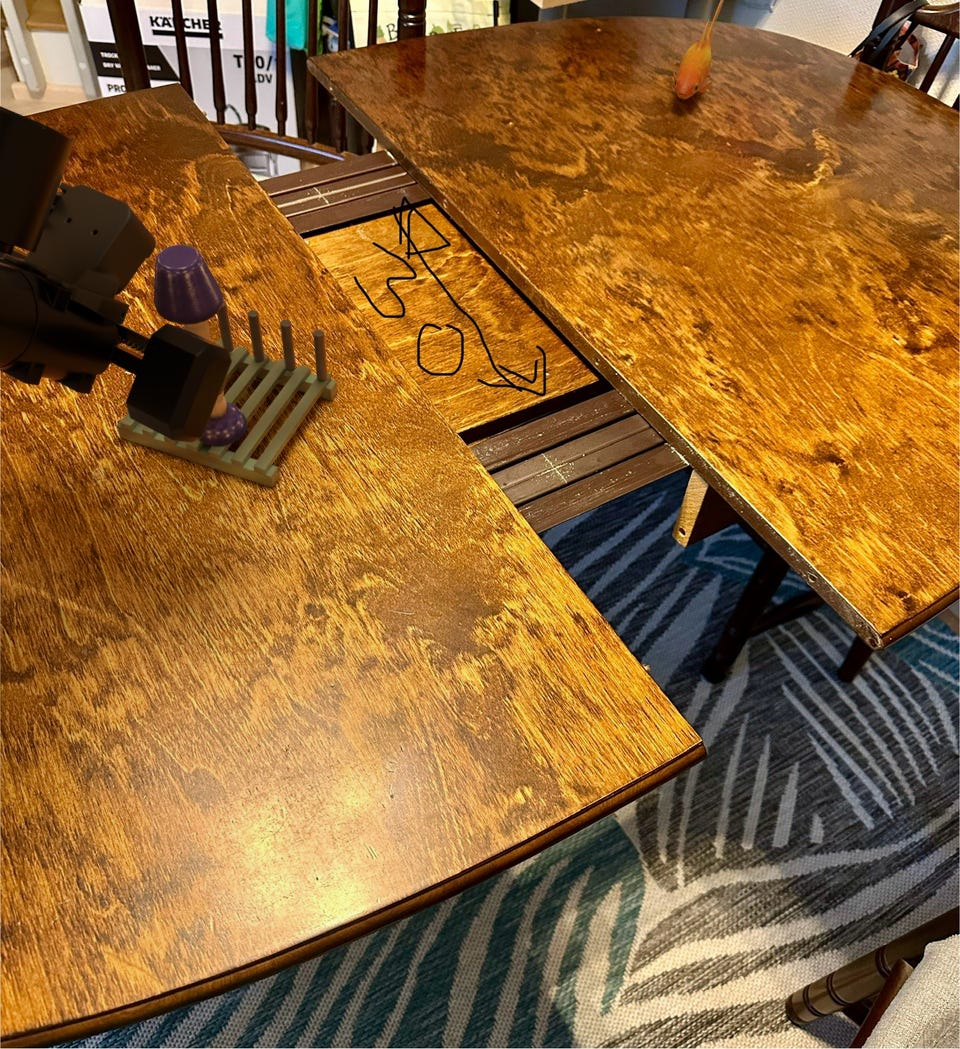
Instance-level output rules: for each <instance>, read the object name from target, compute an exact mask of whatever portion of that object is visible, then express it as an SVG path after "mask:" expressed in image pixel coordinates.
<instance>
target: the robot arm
mask: <svg viewBox="0 0 960 1049" xmlns="http://www.w3.org/2000/svg"><path fill="white" fill-rule="evenodd" d="M74 145H75V141H74V139H72V138H70V137H68V136H67V135H65V134H63V133H62V132H60V131H58V130H56V129H54V128H52V127H50V126H48V125H47V124H44V123H42V122H39V121H37V120H35V119H32V118H30V117H28V116H25V115H23V114H20V113H18V112H15V111H13V110H10V109H8V108H6V107H4V106H1V105H0V372H2V373H4V374H6V375H8V376H9V377H12V378H13V379H15V380H18V381H19V382H21V383H23V384H26V385H31V386H37V387H39V385H40V383H41V380H42V378H43V379H49V380H52V381H55V382H56V383H59V384H61V385H63V386H64V387H66V388H68V389H71V390H72V391H74V392H76V393H79V394H83V395H84V394H85V395H91V392H92V389H93V387H94V383H95V381H96V379H97V376H101V375H103V374H104V373H105V372H106V370H108V368H109V367H110V366H111V364H113V365H114V366H117V367H119V368H121V369H122V370H125V371H127V372H129V373H131V374H133V375H134V376H135V377H134V379H133V382H132V385H131V388H130V390H129V393H128V395H127V397H126V401H125V406H126V409H127V413H128V412H129V416H130V418H131V419H133V420H135V421H136V422H138V423H140V424H142V425H144V426H146V427H148V428H150V429H152V430H154V431H156V432H158V433H160V434H162V435H164V436H165V437H167V438H169V439H171V440H173V441H182V442H190V443H192V442H194V441H196V440H199V439H201V438H202V437H203V434H204V431H205V429H206V426H207V424H208V421H209V419H210V416H211V414H212V411H213V409H214V406H215V404H216V401H217V398H218V396H219V395H220V394H222V392H223V390H224V391H225V388H226V385H227V383H228V381H227V379H226V376H227V373H228V371H229V368H230V365H231V363H232V360H231V357H230V354H229V351H228V349H226V348H224V347H222V346H220V345H218V344H216V342H214V341H213V340H212V341H213V342H212V341H209V340H207V339H205V338H203V337H201V336H199V335H197V334H195V333H192V332H190V331H187V330H185V329H184V328H182V327H180V326H177V325H174V324H171V323H167V322H166V323H165V324H163V325H162V326H161V327H160V328H158V329H157V330H155V331H154V332H153V333H151V334H150V336H149V337H148V336H147V335H145V334H142V333H140V332H138V331H136V330H134V329H132V328H130V327H128V326H125V325H123V324H124V322H125V319H126V317H127V315H128V312H129V309H130V306H131V304H129V303H126V302H125V301H122V300H120V299H118V298H115V297H116V296H117V295H119V294H121V293H123V292H124V290H125V289H126V288H127V287H128V285H129V284H130V282H131V281H132V279H133V278H134V276H135V275H136V273H137V272H138V270H140V268H141V266H142V265H143V264H144V262H145V260H147V259H149V258H151V256H152V254H153V253H154V252H155V250H156V246H157V241H156V239H155V237H154V235H153V234H152V233H151V232H150V231H149V229H148V228H147V227H146V226H145V224H144V223H143V222H142V220H141V219H140V218H139V217H138V215H137V214H136V213H135V212H134V210H133V209H132V208H131V206H130V205H129V204H127V203H126V202H125V201H123V200H120V199H119V198H115V197H113V196H111V195H108V194H107V193H104V192H102V191H99V190H97V189H95V188H93V187H90V186H88V185H86V184H85V185H84V184H78V185H75V186H72V185H70V184H67V183H65V182H63V181H62V179H63V176H64V174H65V171H66V168H67V164H68V162H69V160H70V156H71V154H72V150H73V148H74ZM59 190H60V191H59ZM19 249H21V250H19ZM22 250H24V251H27V253H26V252H24V251H22ZM121 344H123V345H125V346H126V347H124V346H122V345H121ZM127 347H130V348H131V349H134V350H135V351H136V352H135V351H133V350H131V349H129V348H127ZM137 352H139V353H141V354H143V355H141V354H139V353H137Z"/></svg>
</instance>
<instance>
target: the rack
mask: <svg viewBox="0 0 960 1049" xmlns="http://www.w3.org/2000/svg"><path fill="white" fill-rule="evenodd" d="M259 314H260V313H259V311H257V310H256V309H249V311H247V321H248V327H249V333H250V341H251V346H252V352H253V354H250V350H249V348H246V347H243V346H239V345H238V346H237V347H236V348H235V346H234V340H233V335H232V334H233V333H232V329H231V324H230V318H229V317H230V316H229V311H228V306H227V302H226V301H225V300H223V303H222V306H221V308H220V310H219V311H218V312H217V314H216V316H217V321H218V322H217V323H218V327H219V332H220V336H221V338H220V339H221V340H220V339H217V341H216V342H215V343H216V344H218V345H220V346H222V347H224V348H226V349H228V351H229V354H230V357H231V360H232V363H231V365H230V368H229V371H228V373H227V376H226V379H227V382H228V381H229V379H231V377H232V376H233V375H234V373H235V372H237V373H241V374H240V375H239V377H238V378H237V379H236V380H235V381H234V382H233V384H232V385H231V386H230V388H229V389H228V390H227V391H226V393H224V395H223V396H224V397H225V399H226V402H228V403H231V404H233V405H235V406H236V404H237V403H238V402H239V400H240V399H241V397H242V396H243V395H244V394H245V392H246V391H247V390H248V389H249V387H250V386H251V385H252V383H253V382H254V381H255V380H256V378H257V379H260V380H262V381H261V382H260V383H259V385H258V386H257V387H256V389H255V390H254V391H253V392H252V394H251V395H250V396H249V398H248V399H247V400H246V401H245V402H244V404H243V405H242V407H241V408H239V409H240V410H241V411H242V412H243V414H244V416H245V418H246V420H247V424H248V423H249V422H250V421H251V419H252V418H253V417H254V415H255V414H256V412H257V411H258V410H259V409H260V407H261V406H262V405H263V403H265V401H266V399H267V398H268V397H269V396H270V394H271V392H272V391H273V390H274V389H275V387H276V386H277V385H279V386H283V387H282V389H281V390H280V391H279V393H278V394H277V395H276V397H275V398H274V400H272V402H271V403H270V405H269V406H268V408H267V409H266V410H265V411H264V413H263V414H262V416H261V417H260V418H259V420H258V421H257V423H255V425H254V426H253V427H252V429H251V430H250V432H249V433H248V435H247V436H246V437H245V439H244V440H243V441H242V443H241V444H240V445H239V447H238V448H237V449H236V451H235V452H234V451H232V450H231V451H230V450H229V448H231V446H232V444H228V445H224V446H213V445H208V444H205V443H203V442H202V441H200V440H196V441H194V442H192V443H190V442H182V441H173V440H171V439H169V438H167V437H165V436H164V435H162V434H160V433H158V432H156V431H154V430H152V429H150V428H148V427H146V426H144V425H142V424H140V423H138V422H136V421H135V420H133V419H131V418H130V416H129V412H128V411H127V413H126V415H125V416H123V417H122V418H121V420H120V421H119V422H117V424H116V425H115V426H116V429H117V432H118V436H119V438H120V439H124V440H127V441H130V442H133V443H135V444H139V445H142V446H145V447H148V448H151V449H154V450H157V451H159V452H163V453H165V454H169V455H171V456H174V457H178V458H181V459H184V460H187V461H190V462H193V463H196V464H199V465H202V466H205V467H208V468H211V469H214V470H217V471H220V472H223V473H226V474H229V475H232V476H235V477H238V478H241V479H245V480H247V481H251V482H254V483H257V484H259V485H262V486H266V487H269V488H272V489H273V488H274V487H275V485H276V484H277V482H278V481H279V480H280V474H279V467H278V466H276V465H273V463H275V461H276V460H277V458H278V457H279V455H280V454H281V452H282V451H283V450H284V448H285V447H286V445H287V444H288V443H289V441H290V440H291V439H292V437H293V435H294V434H295V433H296V431H297V430H298V428H299V427H300V425H301V424H302V422H303V421H304V420H305V418H306V417H307V415H308V414H309V412H310V411H311V409H312V408H313V407H314V405H315V403H317V401H318V400H319V398H320V399H324V400H327V401H330V402H332V401H333V400H334V399H335V397H336V396H337V394H339V393H338V392H339V391H338V381H337V380H335V379H332V374H331V373H328V368H327V367H328V366H327V352H326V339H325V332H324V330H322V329H316V330H314V331H313V333H312V336H313V348H314V349H313V350H314V360H315V369H316V370H315V372H316V374H315V373H312V372H311V367H308V366H306V365H302V364H300V365H298V367H297V364H296V355H295V347H294V338H293V337H294V336H293V327H292V321H291V320H289V319H283V320H281V321H280V322H279V325H280V336H281V343H282V352H283V358H279V359H278V360H277V361H273V360H270V355H269V354H267V353H265V349H264V343H263V335H262V329H261V320H260V315H259ZM298 392H301V393H304V395H303V396H302V398H301V399H300V401H299V402H298V403H297V404H296V406H295V407H294V409H293V410H292V412H290V414H289V415H288V417H287V419H286V420H285V421H284V423H283V424H282V425H281V427H280V428H279V430H278V431H277V432H276V434H275V435H274V437H273V438H272V439H271V441H270V443H269V444H268V445H267V447H266V448H265V449H264V451H263V452H262V454H261V455H260V456H259V458H258V459H254V458H252V457H251V456H252V455H253V454H254V452H255V451H256V449H257V448H258V446H259V445H260V444H261V443H262V442H263V440H264V438H265V437H266V435H267V434H268V433H269V431H270V430H271V429H272V427H273V426H274V424H276V421H277V420H278V419H279V417H280V416H281V415H282V413H283V412H284V410H286V408H287V407H288V405H289V404H290V402H291V401H292V400H293V398H294V397H295V396H296V394H297V393H298Z"/></svg>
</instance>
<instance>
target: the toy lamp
mask: <svg viewBox="0 0 960 1049" xmlns="http://www.w3.org/2000/svg"><path fill="white" fill-rule="evenodd" d="M153 278H154V280H153V282H154V283H153V304H154V305H153V306H154V308H155V310H156V313H157V314H158V315H159V316H160V317H161V318H163V319H164V320H166V321H167V322H170V323H174V324H177V325H183V329H185V330H187V331H190V332H192V333H195V334H197V335H199V336H201V337H203V338H205V339H207V340H209V341H212V342H214V341H213V339H212V338H211V327H210V325H209V323H208V320H210V319H212V318H213V317H215V316H217V312H218V311H219V310H220V308H221V306H222V303H223V301H224V296H223V292H222V289H221V288H220V286H219V283H218V282H217V280H216V278H215V276H214V275H213V273H212V271H211V269H210V267H209V265H208V263H207V262H206V260H205V258H204V257H203V255H202V254H201V252H200V251H199V250H198V249H197V248H195V247H193V246H191V245H188V244H174V245H170V246H168V247H167V246H166V247H165V248H163V249H161V251H160V252H159V253H158V254H157V256H156V258H155V263H154V277H153ZM224 395H225V389H224V390H223V392H222V394H220V395H219V396H218V398H217V401H216V404H215V406H214V409H213V411H212V414H211V416H210V419H209V421H208V424H207V426H206V429H205V431H204V434H203V437H202V438H201V439H199V440H200V441H202V442H203V443H205V444H208V445H212V446H224V445H228V444H231V445H232V444H234V443H236V442H238V441H239V440H240V439H241V438H242V437H243V436H244V435H245V433H246V432H247V430H248V423H247V420H246V418H245V416H244V414H243V412H242V411H241V410H240V409H241V408H239V407H238V406H237V405H236V404H235V405H233V404H231V403H228V402H226V399H225V397H224Z"/></svg>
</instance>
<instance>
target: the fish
mask: <svg viewBox="0 0 960 1049" xmlns="http://www.w3.org/2000/svg"><path fill="white" fill-rule="evenodd" d="M724 2H725V1H724V0H720V1H719V4H718V6H717V8H716V11H715V14H714V15H713V19H712V21H711V24H710V19H708V20H707V23H706V25H705V27H704V29H703V31H702V35H701V37H700V40H699V41H697V42H695V43H694V44H692V45H691V46H690V47H689V48H688V49H687V50H686V52H685V54H684V56H683V57H682V59H681V62H680V63H679V66H678V69H677V71H675V70H672V78H673V85H674V90H675V92H676V95H677V97H678V99H681V100H687V99H689V98H691V97H692V96H694V95H695V94H696V93H701V94H702V93H703V92H705V91H707V89H709V88H710V86H711V85H712V84H713V83H714V80H711V77H708V75H709V74H710V71H711V70H712V67H713V63H712V60H713V58H712V46H713V39H714V30H713V27H714V25H715V24H716V22H717V19H718V16H719V14H720V12H721V9H722V7H723V4H724Z"/></svg>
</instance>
